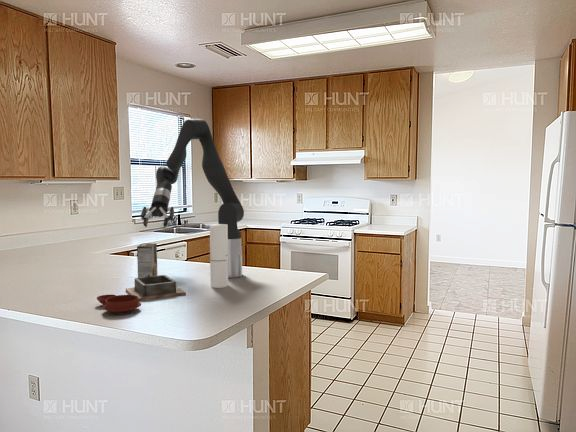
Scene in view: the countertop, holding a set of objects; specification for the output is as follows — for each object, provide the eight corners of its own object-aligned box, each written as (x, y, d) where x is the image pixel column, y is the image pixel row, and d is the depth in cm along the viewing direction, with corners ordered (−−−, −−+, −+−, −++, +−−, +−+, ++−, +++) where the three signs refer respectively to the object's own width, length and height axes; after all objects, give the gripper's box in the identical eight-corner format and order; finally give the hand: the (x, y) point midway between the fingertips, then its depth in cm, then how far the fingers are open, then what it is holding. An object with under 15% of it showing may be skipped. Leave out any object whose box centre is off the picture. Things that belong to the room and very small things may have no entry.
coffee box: (142, 280, 187) (141, 243, 185) (158, 279, 187) (157, 243, 186) (137, 285, 178) (136, 246, 176) (153, 284, 178) (152, 246, 177)
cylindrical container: (231, 284, 178) (230, 224, 177) (223, 288, 172) (222, 225, 170) (215, 283, 181) (215, 223, 179) (207, 287, 174) (206, 225, 172)
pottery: (113, 319, 132) (113, 305, 132) (85, 307, 146) (85, 294, 146) (148, 311, 141) (147, 298, 141) (119, 300, 155) (118, 288, 154)
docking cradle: (171, 285, 177) (171, 273, 177) (185, 294, 162) (185, 281, 161) (125, 290, 168) (125, 278, 167) (136, 301, 152) (135, 287, 152)
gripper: (144, 193, 201) (136, 220, 190) (175, 194, 201) (169, 220, 191) (147, 204, 206) (140, 231, 196) (177, 204, 207) (172, 231, 196)
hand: (154, 225), depth 193 cm, fingers open, 8 cm apart
